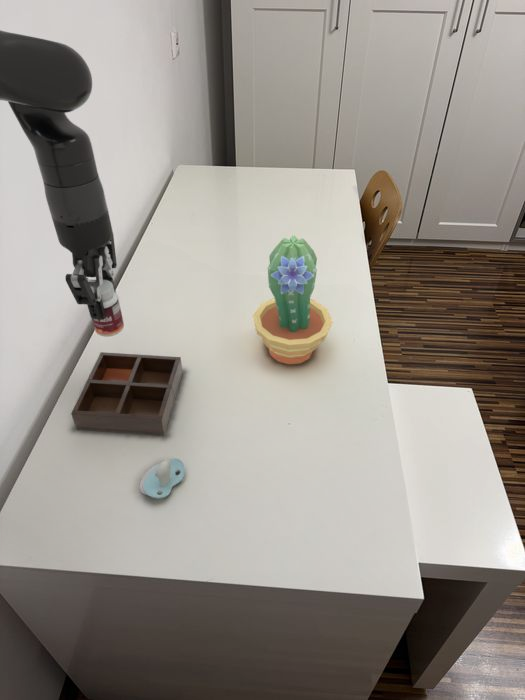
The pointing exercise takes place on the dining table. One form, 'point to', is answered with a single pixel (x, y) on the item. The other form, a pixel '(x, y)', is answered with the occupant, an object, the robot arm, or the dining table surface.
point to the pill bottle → (109, 312)
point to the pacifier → (162, 478)
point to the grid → (129, 394)
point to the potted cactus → (292, 304)
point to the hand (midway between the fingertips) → (104, 307)
